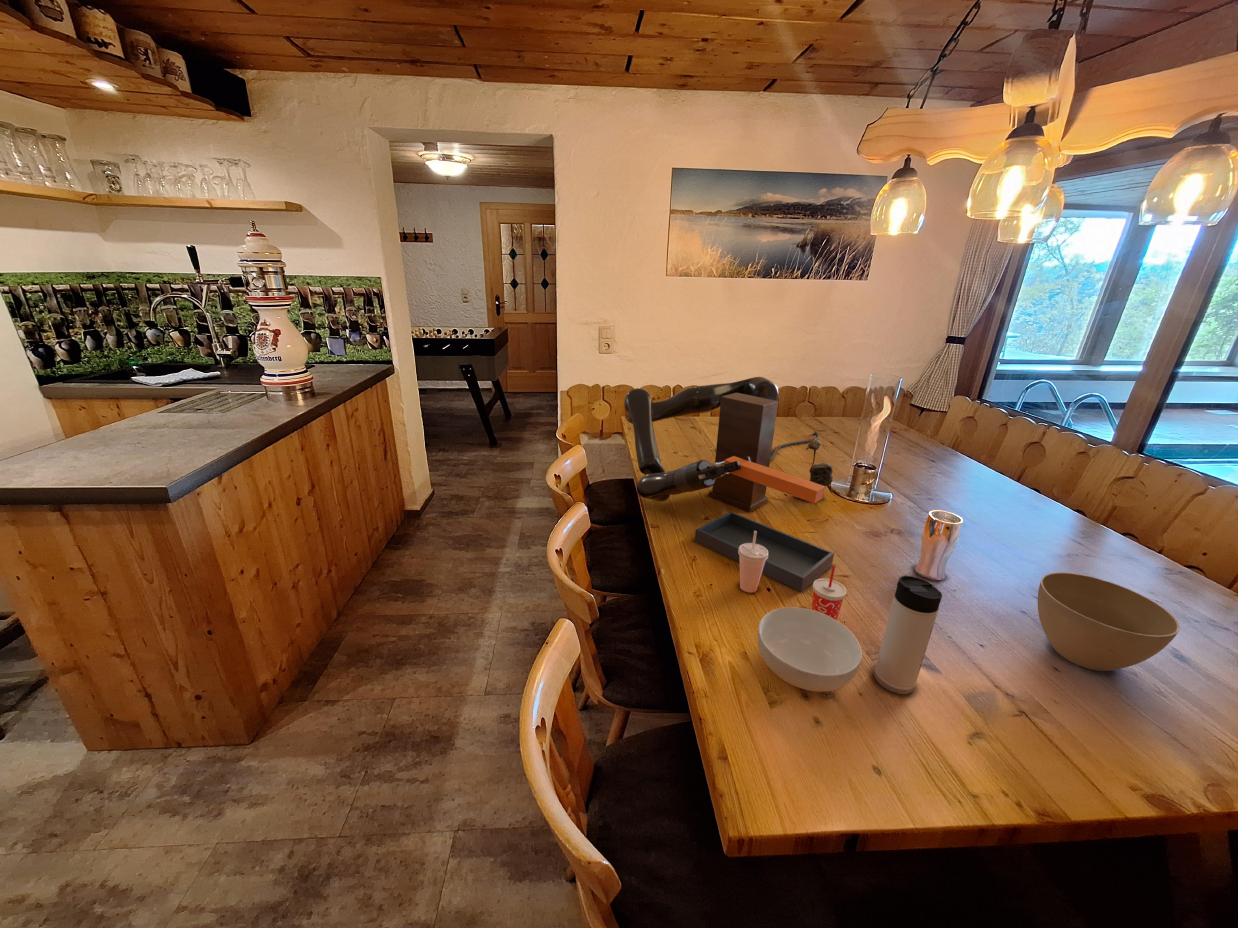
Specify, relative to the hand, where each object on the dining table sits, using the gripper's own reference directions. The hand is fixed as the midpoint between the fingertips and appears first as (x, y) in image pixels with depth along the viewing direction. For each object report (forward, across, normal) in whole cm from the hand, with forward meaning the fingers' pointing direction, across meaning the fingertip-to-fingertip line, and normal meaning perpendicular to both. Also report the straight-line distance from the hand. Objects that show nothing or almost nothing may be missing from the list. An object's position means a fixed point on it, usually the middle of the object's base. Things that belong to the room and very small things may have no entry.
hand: (744, 462), depth 120 cm
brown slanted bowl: (+47, +13, +53) cm, 72 cm away
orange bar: (+5, 0, +6) cm, 8 cm away
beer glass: (+23, +22, +39) cm, 51 cm away
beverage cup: (+15, -15, +35) cm, 41 cm away
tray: (-4, 0, +23) cm, 24 cm away
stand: (-24, +23, +12) cm, 35 cm away
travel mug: (+28, -20, +42) cm, 55 cm away
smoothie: (+1, -15, +26) cm, 30 cm away
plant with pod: (-11, +42, +20) cm, 48 cm away
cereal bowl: (+18, -29, +36) cm, 50 cm away
